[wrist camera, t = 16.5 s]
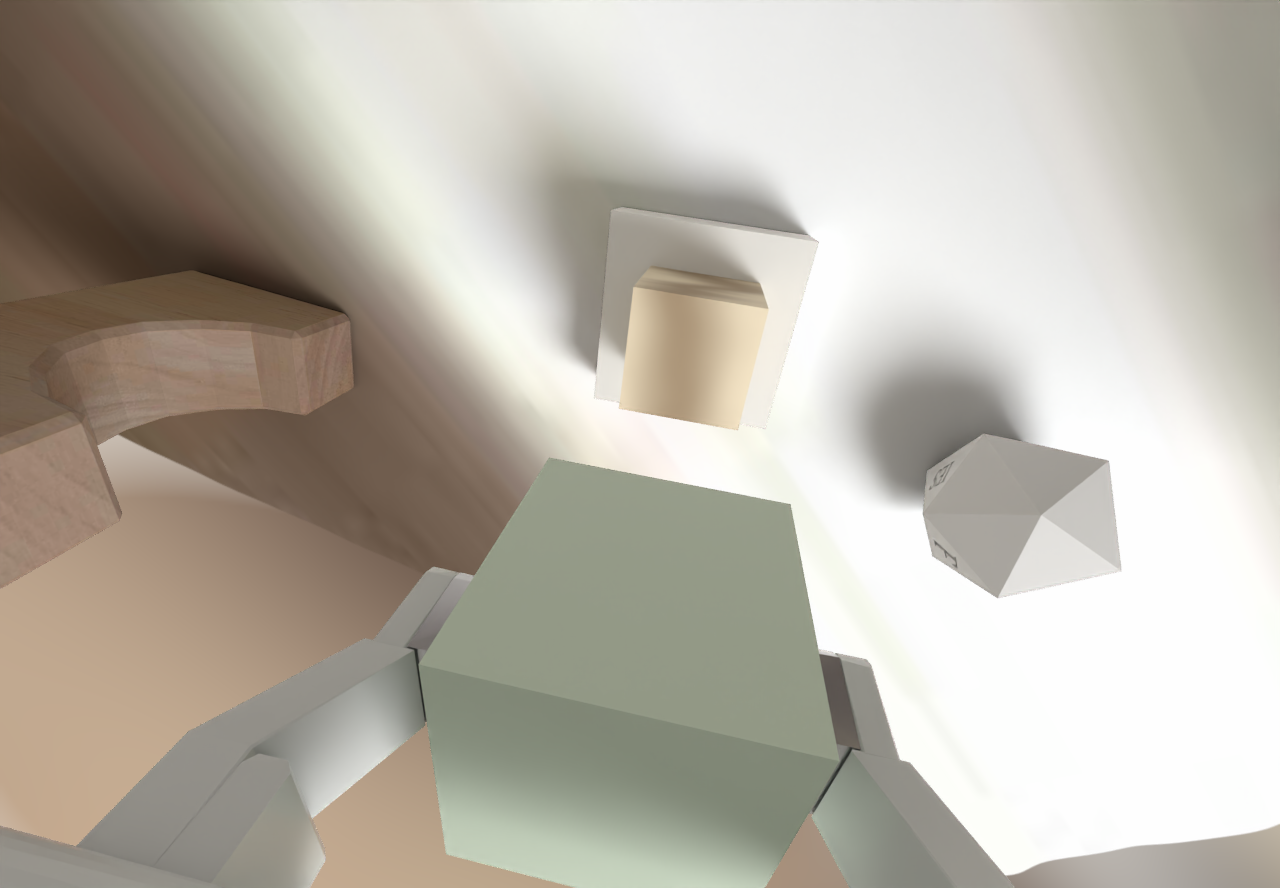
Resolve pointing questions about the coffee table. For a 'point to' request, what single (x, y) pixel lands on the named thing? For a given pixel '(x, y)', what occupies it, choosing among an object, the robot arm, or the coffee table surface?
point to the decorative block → (138, 387)
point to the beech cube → (692, 346)
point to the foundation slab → (711, 252)
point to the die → (1021, 515)
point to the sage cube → (631, 688)
